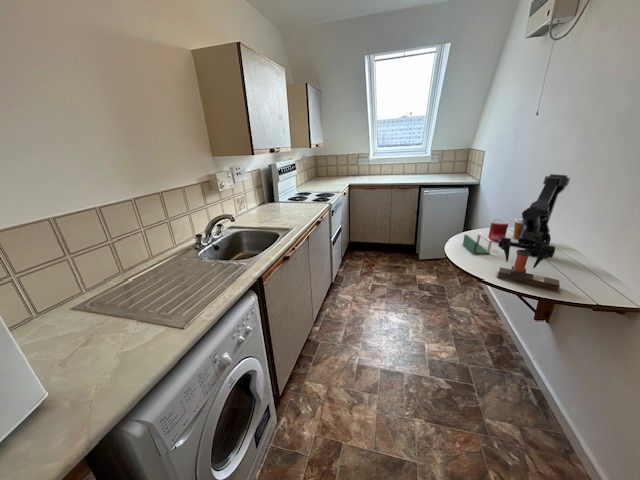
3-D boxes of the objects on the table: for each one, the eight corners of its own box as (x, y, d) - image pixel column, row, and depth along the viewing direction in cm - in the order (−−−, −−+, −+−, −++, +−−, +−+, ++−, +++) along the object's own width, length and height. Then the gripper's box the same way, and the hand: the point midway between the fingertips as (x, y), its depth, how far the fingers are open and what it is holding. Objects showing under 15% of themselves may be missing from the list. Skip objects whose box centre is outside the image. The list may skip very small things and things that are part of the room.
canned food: (507, 242, 150) (511, 223, 145) (492, 242, 150) (497, 224, 146) (498, 237, 157) (503, 219, 152) (485, 237, 157) (489, 219, 153)
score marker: (510, 274, 111) (515, 253, 108) (511, 268, 116) (516, 248, 112) (524, 277, 108) (531, 256, 105) (525, 271, 113) (531, 250, 109)
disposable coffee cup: (519, 234, 158) (525, 215, 154) (534, 240, 150) (540, 220, 145) (505, 236, 157) (510, 217, 153) (519, 242, 148) (525, 222, 144)
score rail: (497, 277, 115) (498, 271, 114) (498, 272, 119) (500, 266, 118) (557, 292, 104) (559, 285, 102) (556, 286, 107) (559, 279, 106)
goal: (477, 244, 147) (479, 232, 145) (489, 254, 136) (492, 240, 134) (462, 245, 148) (464, 232, 145) (473, 254, 137) (475, 241, 134)
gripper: (504, 219, 113) (494, 251, 109) (562, 227, 101) (552, 263, 98) (503, 231, 121) (493, 261, 118) (556, 240, 110) (547, 274, 106)
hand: (520, 264), depth 110 cm, fingers open, 9 cm apart
